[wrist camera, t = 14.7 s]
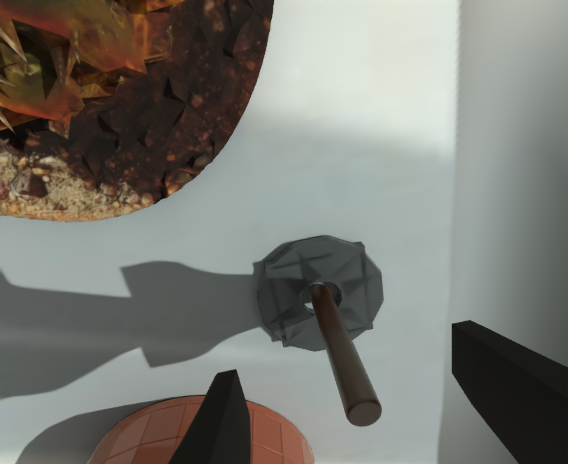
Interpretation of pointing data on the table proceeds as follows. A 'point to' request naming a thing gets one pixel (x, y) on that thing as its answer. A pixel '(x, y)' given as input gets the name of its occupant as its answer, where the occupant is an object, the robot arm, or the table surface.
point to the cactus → (119, 99)
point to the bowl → (174, 424)
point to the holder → (311, 269)
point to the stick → (345, 361)
